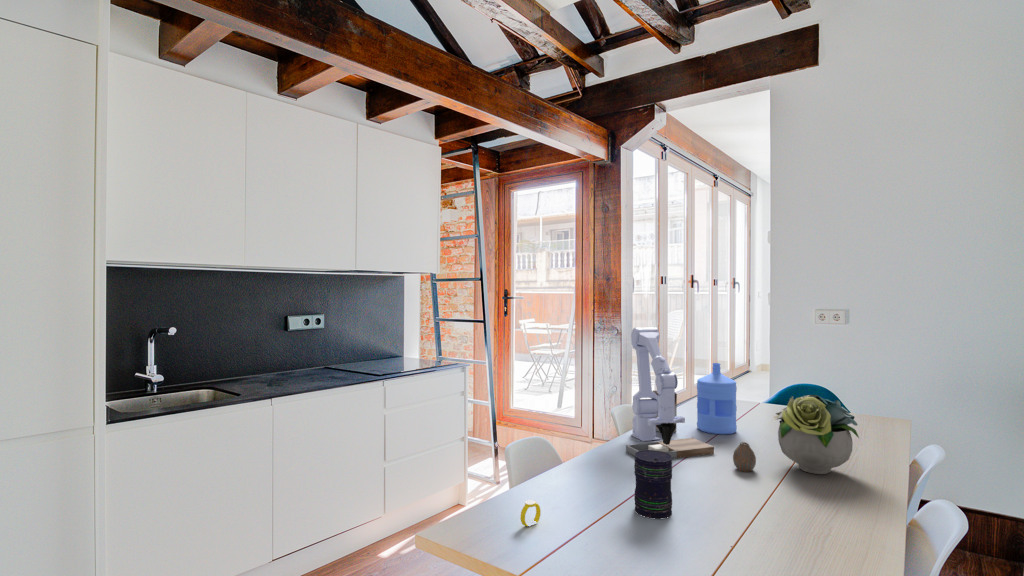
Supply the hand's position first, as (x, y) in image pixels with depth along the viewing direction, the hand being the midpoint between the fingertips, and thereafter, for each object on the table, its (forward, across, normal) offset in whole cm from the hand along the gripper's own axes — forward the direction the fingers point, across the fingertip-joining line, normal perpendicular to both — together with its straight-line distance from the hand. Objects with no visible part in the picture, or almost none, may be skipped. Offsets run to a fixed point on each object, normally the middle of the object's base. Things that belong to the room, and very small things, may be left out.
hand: (666, 443), depth 190 cm
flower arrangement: (+4, +35, -31) cm, 47 cm away
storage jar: (+4, -33, -41) cm, 53 cm away
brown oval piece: (+4, +14, -23) cm, 27 cm away
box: (+3, -7, 0) cm, 7 cm away
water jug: (+4, +39, +20) cm, 44 cm away
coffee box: (+4, +18, +27) cm, 33 cm away
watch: (+4, -67, -39) cm, 77 cm away
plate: (+3, +8, 0) cm, 9 cm away
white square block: (+3, -4, -1) cm, 5 cm away
